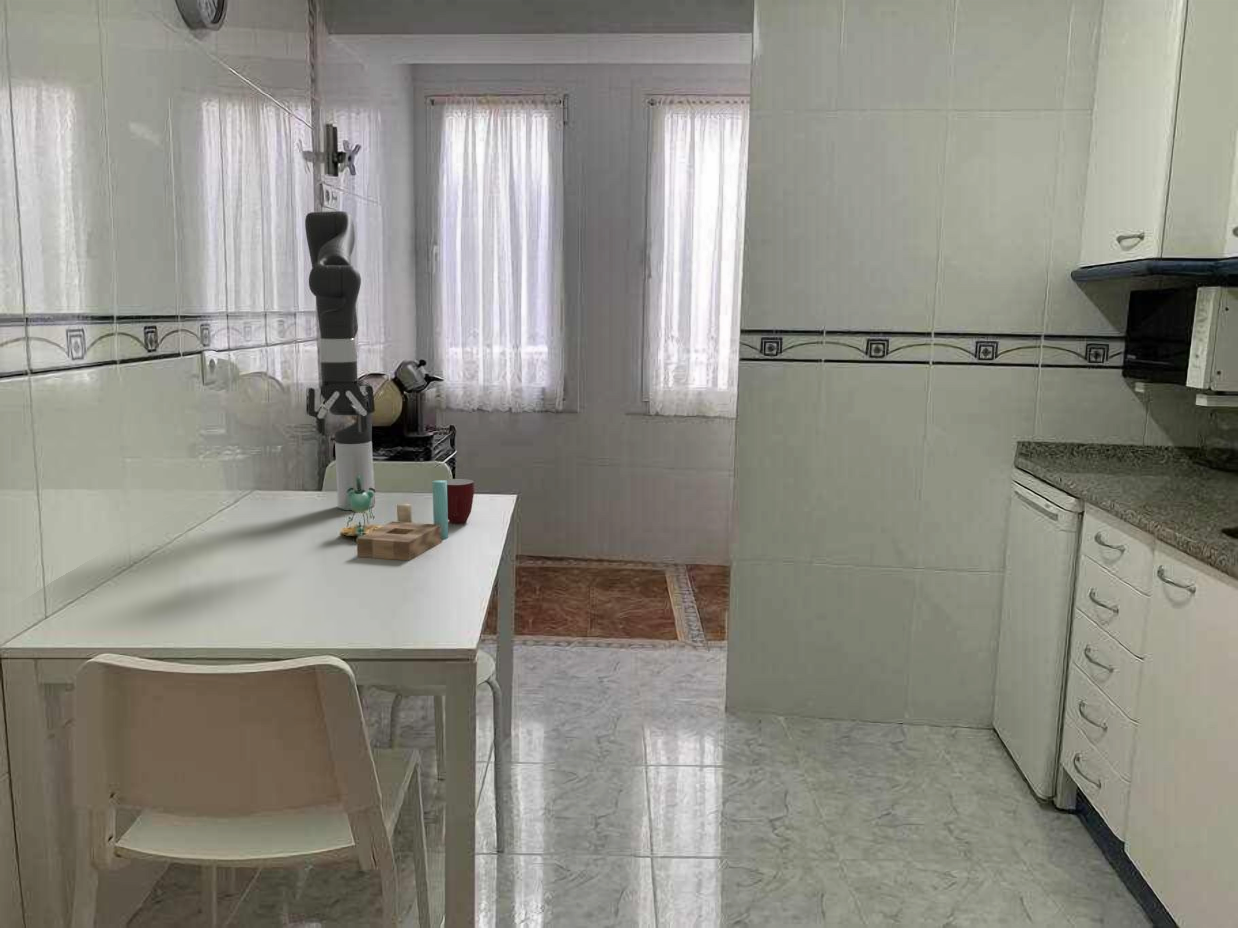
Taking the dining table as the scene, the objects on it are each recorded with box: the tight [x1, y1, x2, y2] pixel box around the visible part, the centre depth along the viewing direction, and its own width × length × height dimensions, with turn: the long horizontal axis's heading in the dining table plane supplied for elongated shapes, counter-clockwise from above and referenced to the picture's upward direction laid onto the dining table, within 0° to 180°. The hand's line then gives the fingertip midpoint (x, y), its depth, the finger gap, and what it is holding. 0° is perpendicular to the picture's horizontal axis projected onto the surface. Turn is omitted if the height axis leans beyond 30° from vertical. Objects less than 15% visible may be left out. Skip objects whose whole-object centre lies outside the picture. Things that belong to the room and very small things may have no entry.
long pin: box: [432, 479, 449, 540], centre depth 220 cm, size 3×3×13 cm
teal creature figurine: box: [339, 477, 383, 543], centre depth 223 cm, size 10×18×15 cm, turn 179°
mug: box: [444, 478, 475, 525], centre depth 234 cm, size 10×8×10 cm
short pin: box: [396, 503, 413, 523], centre depth 223 cm, size 3×3×7 cm
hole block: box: [356, 521, 443, 562], centre depth 211 cm, size 16×12×4 cm
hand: (342, 434), depth 211 cm, fingers open, 8 cm apart
